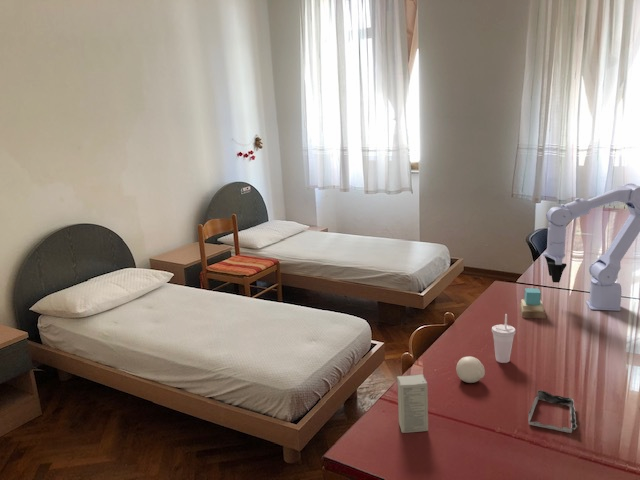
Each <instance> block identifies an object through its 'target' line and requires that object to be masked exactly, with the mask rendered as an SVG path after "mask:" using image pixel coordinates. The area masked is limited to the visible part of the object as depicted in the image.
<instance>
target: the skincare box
mask: <svg viewBox="0 0 640 480" xmlns="http://www.w3.org/2000/svg"><path fill="white" fill-rule="evenodd" d="M396 379H397V381H396V383H397V384H396V385H397V405H398V407H397V408H398V412H397V413H398V414H397V415H398V424H399V427H400V428H399V429H400V431H401V433H402V434H405V433H417V432H418V433H419V432H428V431H429V403H428V402H429V401H428V400H429V399H428V396H429V395H428V381H427V380H426V377H425V376H424V374H423V373H422V374H421V373H420V374H411V375H410V374H409V375H408V374H407V375H398V376H396Z"/></svg>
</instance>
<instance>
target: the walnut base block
mask: <svg viewBox="0 0 640 480" xmlns="http://www.w3.org/2000/svg"><path fill="white" fill-rule="evenodd" d="M519 312H520V315H521V317H522V318H524V319H525V318H527V319H545V320H546V317H547V312H546V309H545V308H544V311H543V312H529V311H523V309H522V306H521V303H520V304H519Z"/></svg>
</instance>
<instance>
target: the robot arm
mask: <svg viewBox="0 0 640 480" xmlns="http://www.w3.org/2000/svg"><path fill="white" fill-rule="evenodd" d="M615 202H617V203H618V202H620V203H624V204H626V207H627V208H628V211H629V213H630V214H629V216H628V217H627V219H626V220H625V222H624V224H623V225H622V226H621V228H620V229H619V231H618V233H617V234H616V236H615V238H614V239H613V240H612V242H611V244H610V245H609V247H608V248H607V250H606V251H605V253H604V254H602V255H600V256H599V257H598V258H597V259H596V260H595V261H594V262H592V263H591V264H590V266H589V267H588V268H589V269H588V272H589V274H590V275H591V279H590V287H589V299H588V300H586V301H585V303H586V304H587V306H588V307H589V309H590V310H593V311H594V310H597V311H617V312H618V311H619V312H620V311H621V310H622V309H621V302H622V285H621V284H620V283H619V282H617V280H618V278H619V272H620V270H621V261H622V260H623V258H624V257H625V255H626V254H627V252H628V251H629V249H630V248H631V246H632V244H633V243H634V241H636V238H637V237H638V236H639V234H640V186H639V185H637V184H635V183H626V184H624V185H619V186H617V187H615V188H613V189H611V190H608V191H606V192H603V193H601V194H598V195H595V196H594V197H591V198H589V199H585V198H583V197H581V198H579V197H575V198H574V201H570V202H567V203H565V204H564V203H561V204H560V206H552V207H551V208H549V210H548V211H547V213H546V214H545V217H546V219H547V220H548V224H547V225H548V227H547V241H546V242H547V244H546V252H542V255H543V257H544V258H545V260H546V265H547V270H548V275H549V276H550V277H551V280H552V283H560V282H561V278H562V275H563V272H564V270H565V269H566V267H567V263H565V262H564V263H563V259H564V258H565V257H566V254H565V251H566V236H567V235H566V233H567V224H568V223H569V221H572V220H575V219H577V218H579V217H584V216H586V215H589V213H590V212H591V210H592V209H595V208H598V207H602V206H605V205H608V204H612V203H615Z"/></svg>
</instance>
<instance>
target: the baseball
mask: <svg viewBox="0 0 640 480" xmlns="http://www.w3.org/2000/svg"><path fill="white" fill-rule="evenodd" d="M455 368H456V369H455V370H456V375H457V376H458V378H459V379H460V380H461V381H463V383H464V382H465V383H467V384H472V383H474V384H475V383H476V382H478V381H480V380H482V379H483V378H484V377H485V375H486V374H485V373H486V370H485V366H484V364H483V363H482V362H481V361H480V360H479V359H478V358H477V357H474V356H470V355H469V356H463V357H462V358H460V359H459V360H458V361H457V364H456V367H455Z"/></svg>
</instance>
